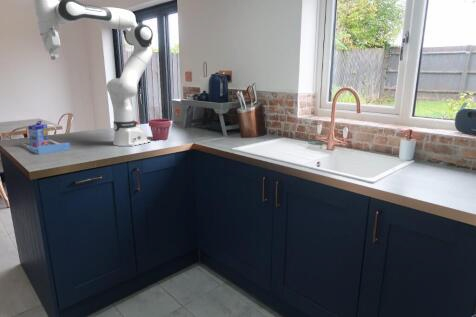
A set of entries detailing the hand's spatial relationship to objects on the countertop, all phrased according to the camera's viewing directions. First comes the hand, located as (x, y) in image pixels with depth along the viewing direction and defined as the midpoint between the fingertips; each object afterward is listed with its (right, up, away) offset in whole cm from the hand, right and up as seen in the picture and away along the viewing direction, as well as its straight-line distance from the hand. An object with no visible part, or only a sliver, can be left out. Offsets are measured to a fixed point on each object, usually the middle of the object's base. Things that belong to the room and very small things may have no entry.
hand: (55, 58), depth 166 cm
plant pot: (+42, -38, +50) cm, 76 cm away
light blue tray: (-18, -44, +22) cm, 52 cm away
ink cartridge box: (-24, -43, +27) cm, 56 cm away
